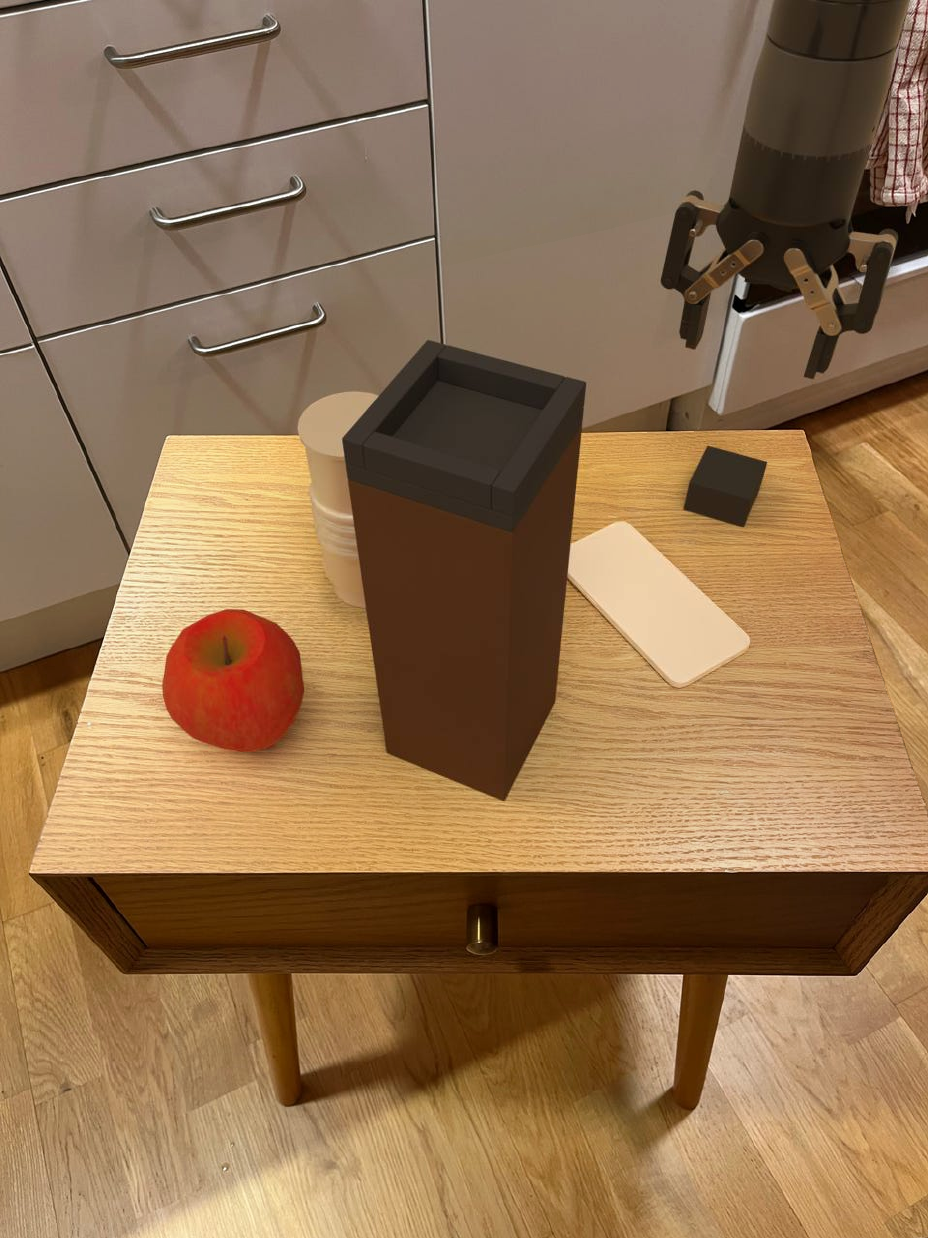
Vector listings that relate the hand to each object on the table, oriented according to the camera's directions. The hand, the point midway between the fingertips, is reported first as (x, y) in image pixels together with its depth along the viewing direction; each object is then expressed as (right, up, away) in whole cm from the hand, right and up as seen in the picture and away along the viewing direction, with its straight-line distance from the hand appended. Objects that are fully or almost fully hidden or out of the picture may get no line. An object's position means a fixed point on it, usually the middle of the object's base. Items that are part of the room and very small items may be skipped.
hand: (751, 357), depth 69 cm
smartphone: (-7, -18, +3) cm, 19 cm away
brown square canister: (-20, -26, -4) cm, 33 cm away
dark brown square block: (+1, -9, +10) cm, 14 cm away
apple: (-35, -27, -4) cm, 44 cm away
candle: (-28, -16, +5) cm, 32 cm away
